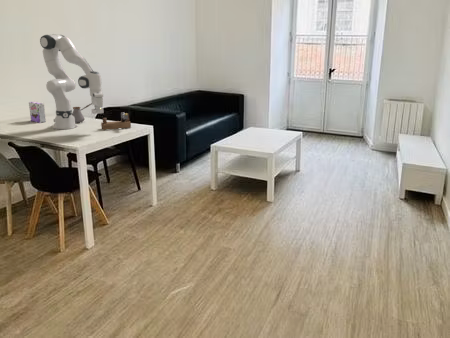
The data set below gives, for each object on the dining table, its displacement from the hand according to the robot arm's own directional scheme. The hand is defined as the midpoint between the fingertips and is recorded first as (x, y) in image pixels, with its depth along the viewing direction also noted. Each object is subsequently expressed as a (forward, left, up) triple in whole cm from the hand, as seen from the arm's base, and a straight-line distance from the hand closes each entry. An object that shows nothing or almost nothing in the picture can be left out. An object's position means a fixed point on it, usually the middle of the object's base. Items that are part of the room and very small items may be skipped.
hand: (97, 111), depth 312 cm
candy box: (-62, -36, -16) cm, 74 cm away
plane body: (-8, +16, -16) cm, 24 cm away
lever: (-3, +22, -11) cm, 24 cm away
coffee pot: (-47, -2, -16) cm, 50 cm away
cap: (0, 0, -1) cm, 1 cm away
